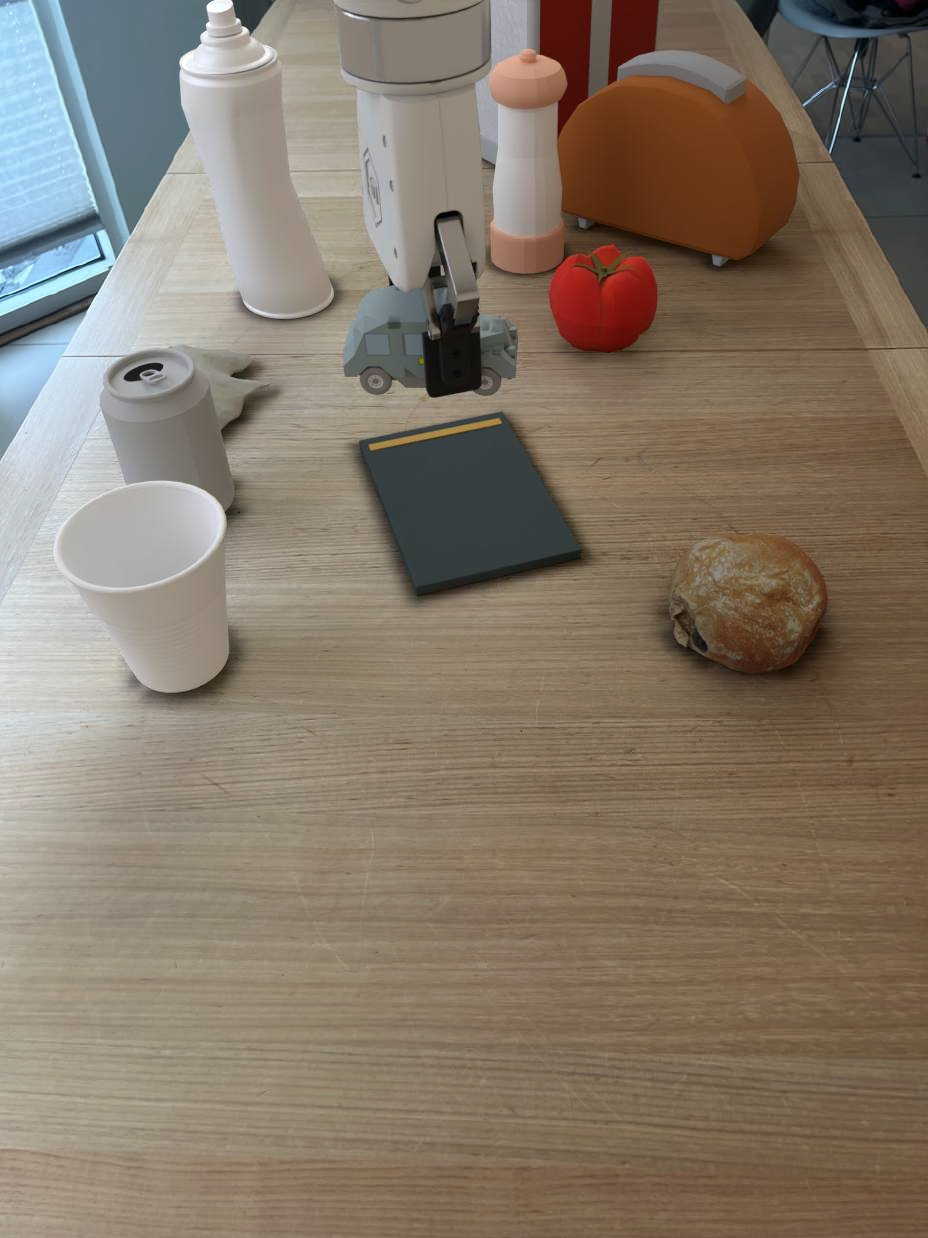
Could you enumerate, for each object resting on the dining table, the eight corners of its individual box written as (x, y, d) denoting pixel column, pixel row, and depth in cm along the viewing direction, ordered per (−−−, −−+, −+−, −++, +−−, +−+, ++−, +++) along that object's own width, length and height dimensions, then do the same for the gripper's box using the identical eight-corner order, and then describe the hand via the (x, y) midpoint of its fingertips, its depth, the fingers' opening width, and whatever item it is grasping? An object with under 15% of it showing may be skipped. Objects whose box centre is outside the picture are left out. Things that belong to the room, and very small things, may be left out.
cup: (75, 701, 67) (17, 573, 60) (152, 596, 74) (109, 468, 66) (217, 734, 65) (175, 605, 57) (283, 622, 72) (254, 493, 64)
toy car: (515, 397, 63) (515, 322, 59) (347, 395, 63) (337, 321, 60) (519, 339, 67) (519, 267, 64) (362, 339, 68) (353, 267, 64)
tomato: (668, 329, 96) (677, 250, 91) (621, 376, 91) (627, 295, 86) (578, 303, 100) (581, 226, 95) (528, 346, 95) (528, 267, 90)
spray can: (204, 317, 101) (136, 27, 83) (234, 264, 108) (177, -13, 91) (324, 320, 100) (281, 26, 82) (346, 265, 107) (310, -15, 90)
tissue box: (452, 141, 129) (439, -128, 110) (568, 106, 135) (576, -154, 116) (532, 186, 119) (534, -101, 100) (654, 146, 125) (678, -131, 106)
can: (205, 464, 84) (169, 328, 76) (256, 508, 80) (224, 370, 72) (120, 505, 81) (72, 368, 73) (168, 553, 77) (124, 414, 69)
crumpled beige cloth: (136, 353, 95) (96, 459, 84) (131, 319, 92) (90, 424, 82) (277, 366, 96) (255, 472, 85) (276, 332, 93) (253, 437, 83)
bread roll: (649, 639, 74) (621, 586, 67) (745, 532, 75) (727, 469, 68) (763, 721, 69) (745, 672, 62) (866, 605, 69) (859, 544, 63)
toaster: (791, 242, 107) (824, 63, 95) (750, 279, 102) (780, 95, 90) (591, 190, 117) (599, 23, 106) (546, 221, 112) (548, 49, 101)
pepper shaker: (574, 246, 108) (581, 40, 95) (547, 279, 104) (551, 67, 90) (508, 235, 111) (506, 32, 97) (479, 266, 106) (472, 58, 92)
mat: (416, 596, 73) (415, 586, 72) (359, 448, 85) (358, 438, 85) (581, 558, 75) (581, 548, 74) (502, 418, 87) (502, 409, 87)
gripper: (308, -2, 58) (346, 297, 70) (378, 109, 46) (409, 447, 58) (442, -19, 59) (456, 278, 71) (544, 85, 47) (540, 421, 59)
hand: (435, 352), depth 65 cm, fingers closed on toy car, 7 cm apart
